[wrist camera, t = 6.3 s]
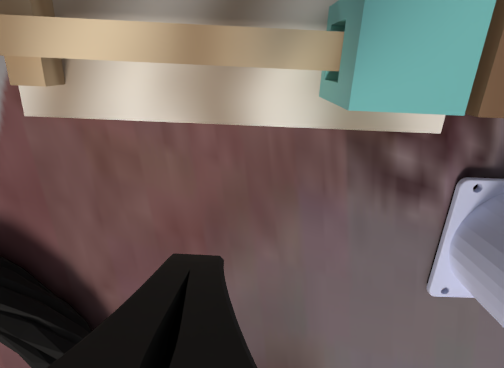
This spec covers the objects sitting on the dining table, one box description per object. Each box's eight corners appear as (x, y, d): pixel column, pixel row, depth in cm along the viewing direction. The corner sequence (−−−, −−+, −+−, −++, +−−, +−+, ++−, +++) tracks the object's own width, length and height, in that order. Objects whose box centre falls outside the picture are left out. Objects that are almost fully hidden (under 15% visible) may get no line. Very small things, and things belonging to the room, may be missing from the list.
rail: (469, -21, 15) (614, -76, 9) (432, 130, 17) (526, 164, 11) (3, -47, 14) (-167, -124, 8) (34, 113, 17) (-80, 140, 11)
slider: (419, 11, 14) (499, -13, 10) (401, 100, 15) (464, 115, 11) (329, 6, 14) (367, -20, 9) (318, 96, 15) (348, 110, 11)
